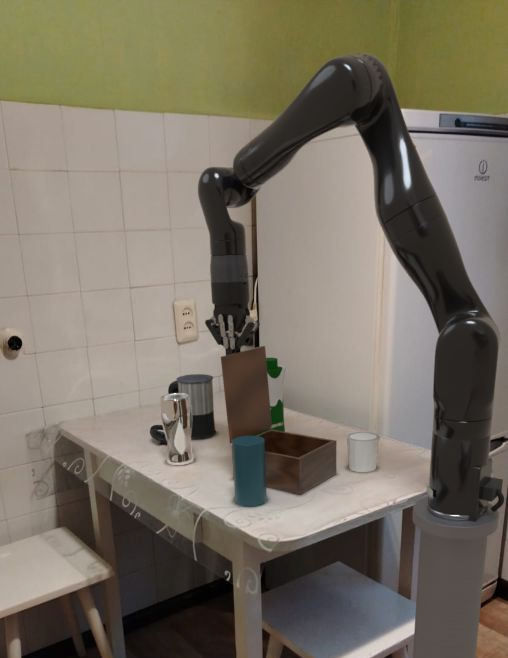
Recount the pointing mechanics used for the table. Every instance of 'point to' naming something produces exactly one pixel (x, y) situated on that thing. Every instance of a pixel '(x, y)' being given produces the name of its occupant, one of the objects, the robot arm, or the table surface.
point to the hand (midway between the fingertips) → (233, 366)
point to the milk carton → (275, 394)
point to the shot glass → (362, 451)
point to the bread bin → (297, 461)
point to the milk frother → (194, 405)
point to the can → (249, 470)
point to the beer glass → (177, 427)
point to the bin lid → (246, 392)
